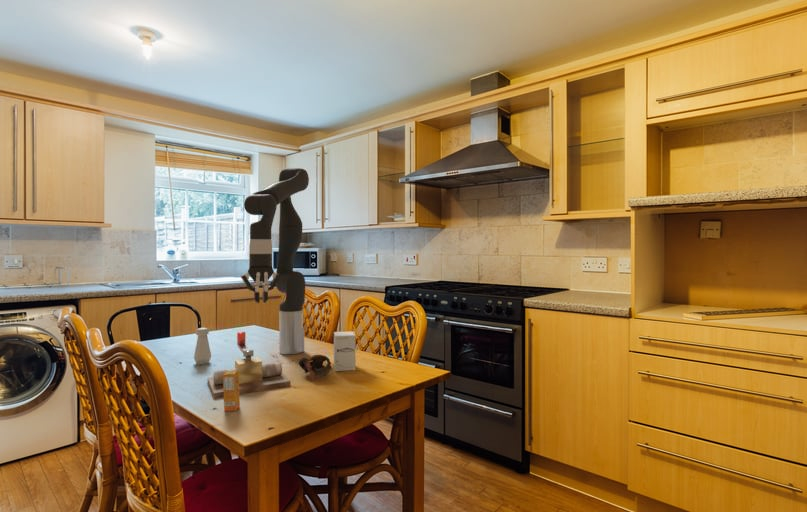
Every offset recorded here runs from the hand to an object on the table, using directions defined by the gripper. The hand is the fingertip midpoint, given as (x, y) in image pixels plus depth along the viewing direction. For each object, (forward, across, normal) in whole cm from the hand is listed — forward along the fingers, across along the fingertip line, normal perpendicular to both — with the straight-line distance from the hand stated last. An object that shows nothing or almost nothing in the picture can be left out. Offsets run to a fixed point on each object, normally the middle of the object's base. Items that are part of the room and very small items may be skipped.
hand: (261, 302), depth 147 cm
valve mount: (+24, +6, +12) cm, 28 cm away
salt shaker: (+24, +16, -21) cm, 36 cm away
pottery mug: (+24, -14, +15) cm, 32 cm away
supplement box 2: (+24, -26, +11) cm, 38 cm away
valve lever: (+15, +7, +6) cm, 17 cm away
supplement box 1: (+24, +14, +31) cm, 42 cm away
